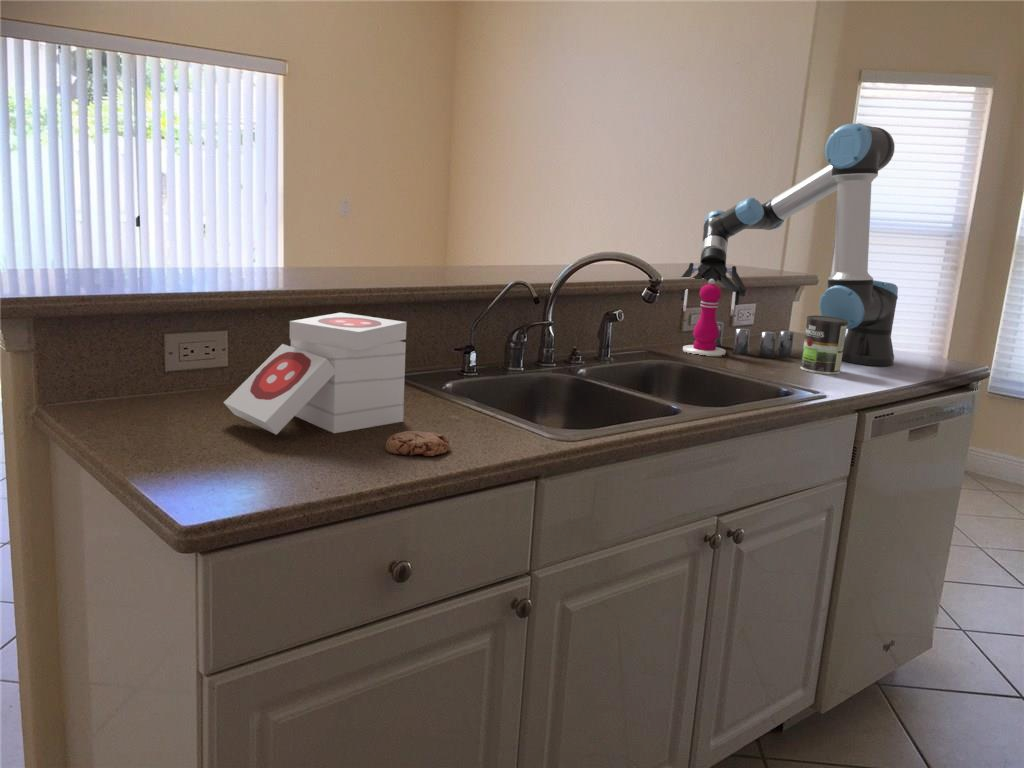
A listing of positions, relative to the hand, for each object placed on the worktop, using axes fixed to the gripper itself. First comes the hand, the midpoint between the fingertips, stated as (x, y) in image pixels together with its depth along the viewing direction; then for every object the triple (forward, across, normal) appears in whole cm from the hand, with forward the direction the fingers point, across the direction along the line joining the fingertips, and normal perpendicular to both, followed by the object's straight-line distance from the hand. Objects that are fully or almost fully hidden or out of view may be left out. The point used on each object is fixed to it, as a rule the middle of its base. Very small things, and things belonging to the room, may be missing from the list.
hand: (708, 310), depth 259 cm
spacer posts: (+6, -13, -11) cm, 18 cm away
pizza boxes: (+92, +67, +75) cm, 136 cm away
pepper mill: (+12, 0, -3) cm, 12 cm away
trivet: (+12, 0, -4) cm, 13 cm away
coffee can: (+20, -31, +4) cm, 37 cm away
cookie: (+98, +46, +81) cm, 136 cm away
